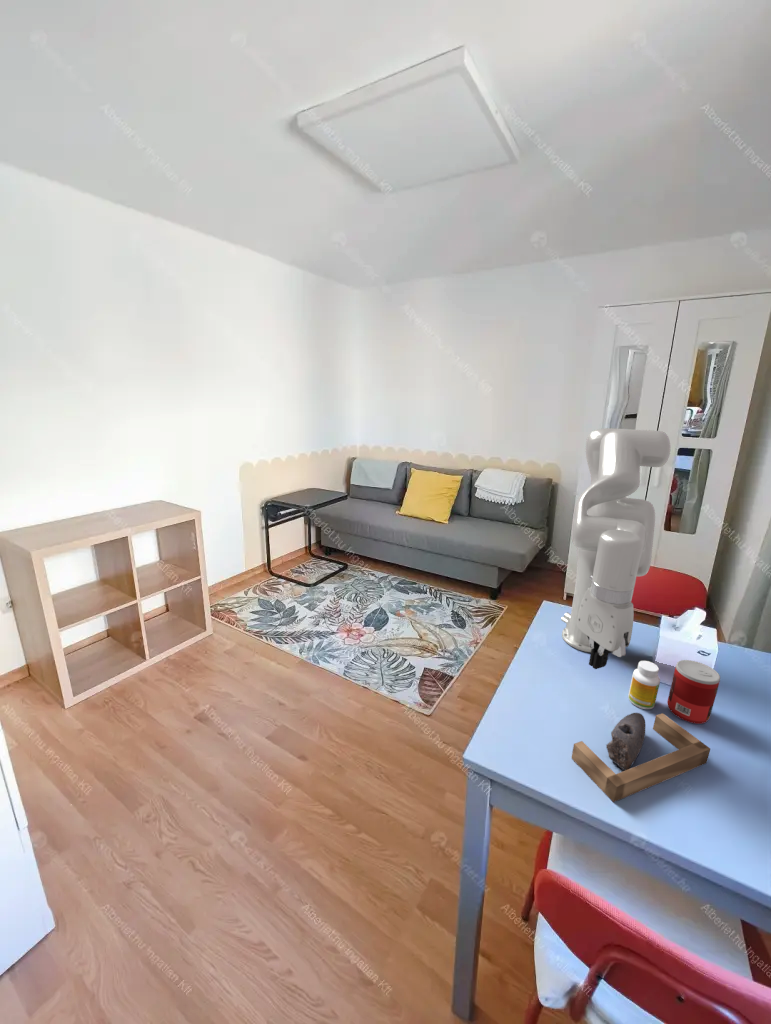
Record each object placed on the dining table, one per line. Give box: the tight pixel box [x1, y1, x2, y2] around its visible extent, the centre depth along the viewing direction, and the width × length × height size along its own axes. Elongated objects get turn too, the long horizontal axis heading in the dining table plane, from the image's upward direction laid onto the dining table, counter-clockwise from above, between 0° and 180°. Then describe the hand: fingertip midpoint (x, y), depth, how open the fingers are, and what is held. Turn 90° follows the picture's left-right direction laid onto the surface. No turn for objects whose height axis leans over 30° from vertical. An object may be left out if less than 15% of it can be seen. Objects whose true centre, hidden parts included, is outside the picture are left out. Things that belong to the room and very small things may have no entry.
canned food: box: [667, 659, 721, 725], centre depth 96 cm, size 8×8×11 cm
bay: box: [571, 712, 711, 803], centre depth 85 cm, size 10×24×4 cm, turn 111°
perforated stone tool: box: [605, 712, 646, 771], centre depth 87 cm, size 15×5×7 cm, turn 135°
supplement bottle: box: [627, 660, 661, 710], centre depth 100 cm, size 5×5×10 cm
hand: (597, 665), depth 94 cm, fingers closed
